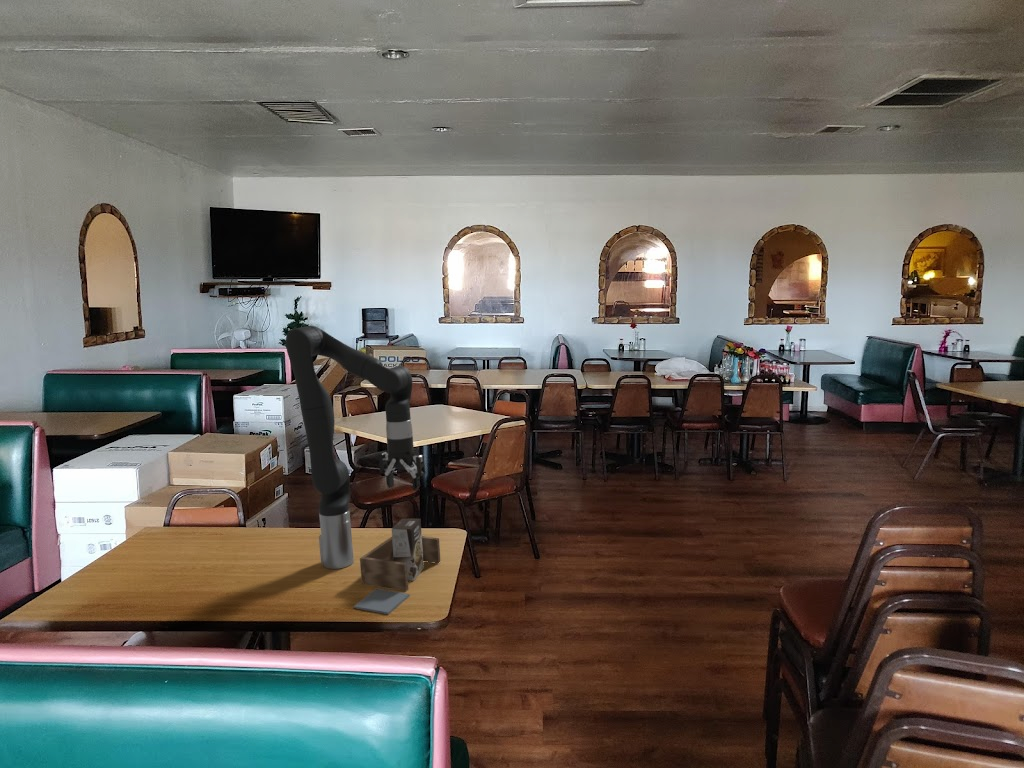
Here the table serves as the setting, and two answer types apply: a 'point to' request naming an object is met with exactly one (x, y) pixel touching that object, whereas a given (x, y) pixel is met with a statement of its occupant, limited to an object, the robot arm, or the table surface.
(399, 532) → the coffee box
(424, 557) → the cubby
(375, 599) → the mat
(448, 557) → the table surface
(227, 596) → the table surface
